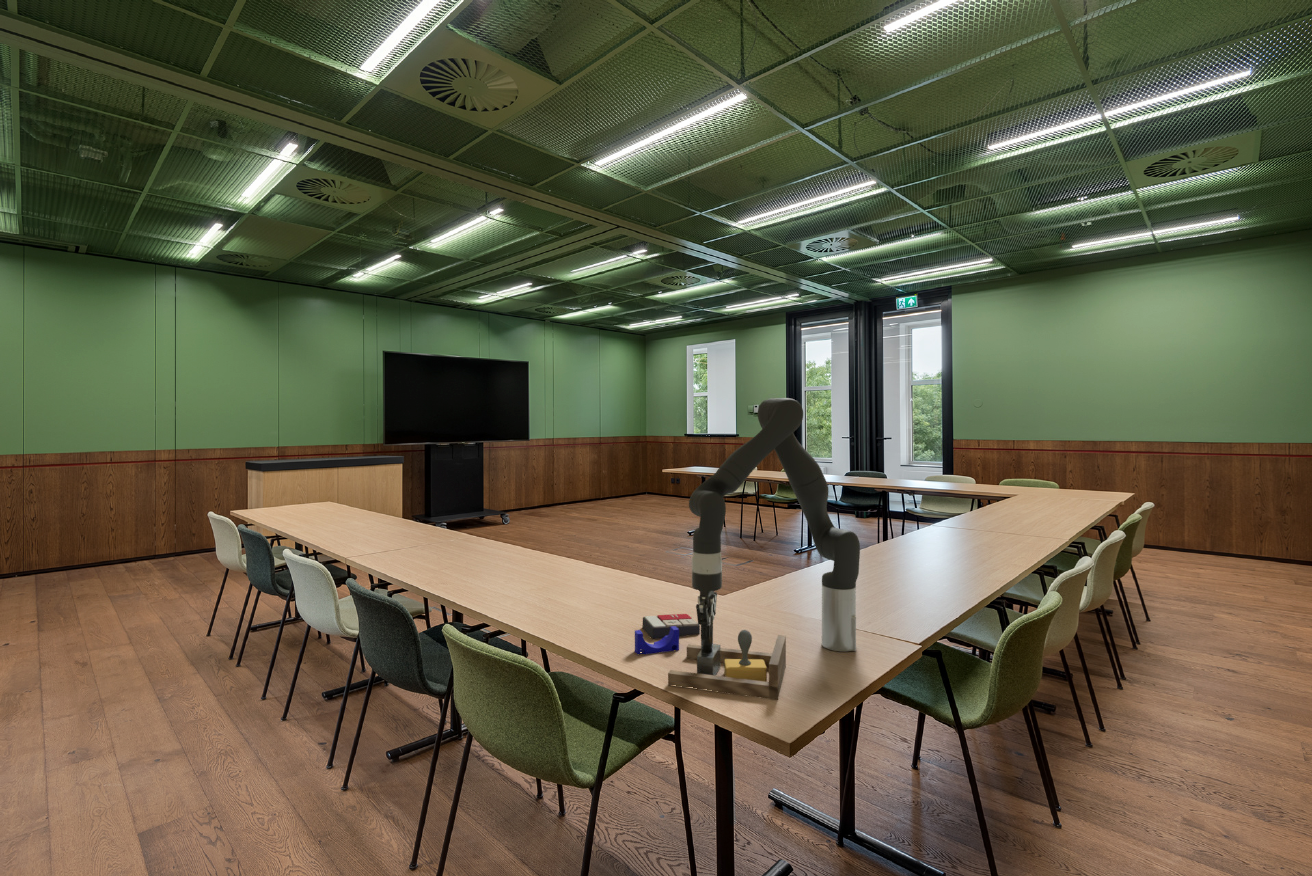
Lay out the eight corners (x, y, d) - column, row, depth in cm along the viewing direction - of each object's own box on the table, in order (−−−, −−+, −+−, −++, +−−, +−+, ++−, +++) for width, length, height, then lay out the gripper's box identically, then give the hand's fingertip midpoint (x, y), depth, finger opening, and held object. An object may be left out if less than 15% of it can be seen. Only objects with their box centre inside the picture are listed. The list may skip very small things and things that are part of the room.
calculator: (700, 623, 180) (652, 625, 175) (699, 637, 180) (652, 640, 175) (687, 612, 190) (642, 614, 186) (687, 625, 190) (641, 628, 186)
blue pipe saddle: (673, 645, 171) (673, 624, 171) (679, 650, 167) (679, 629, 167) (633, 650, 167) (633, 628, 167) (637, 655, 163) (637, 634, 163)
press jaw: (720, 665, 155) (720, 610, 155) (712, 680, 146) (712, 621, 146) (705, 664, 156) (705, 608, 156) (696, 678, 147) (696, 619, 147)
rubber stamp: (725, 682, 146) (725, 633, 145) (724, 673, 151) (724, 625, 151) (766, 683, 145) (766, 634, 145) (763, 673, 151) (763, 626, 151)
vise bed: (785, 666, 155) (785, 635, 155) (777, 699, 136) (777, 665, 136) (688, 655, 163) (688, 626, 163) (668, 685, 144) (668, 652, 144)
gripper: (715, 577, 143) (715, 648, 143) (726, 564, 156) (726, 629, 156) (685, 574, 145) (685, 645, 145) (698, 562, 158) (699, 627, 159)
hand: (707, 636), depth 151 cm, fingers closed on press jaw, 3 cm apart
